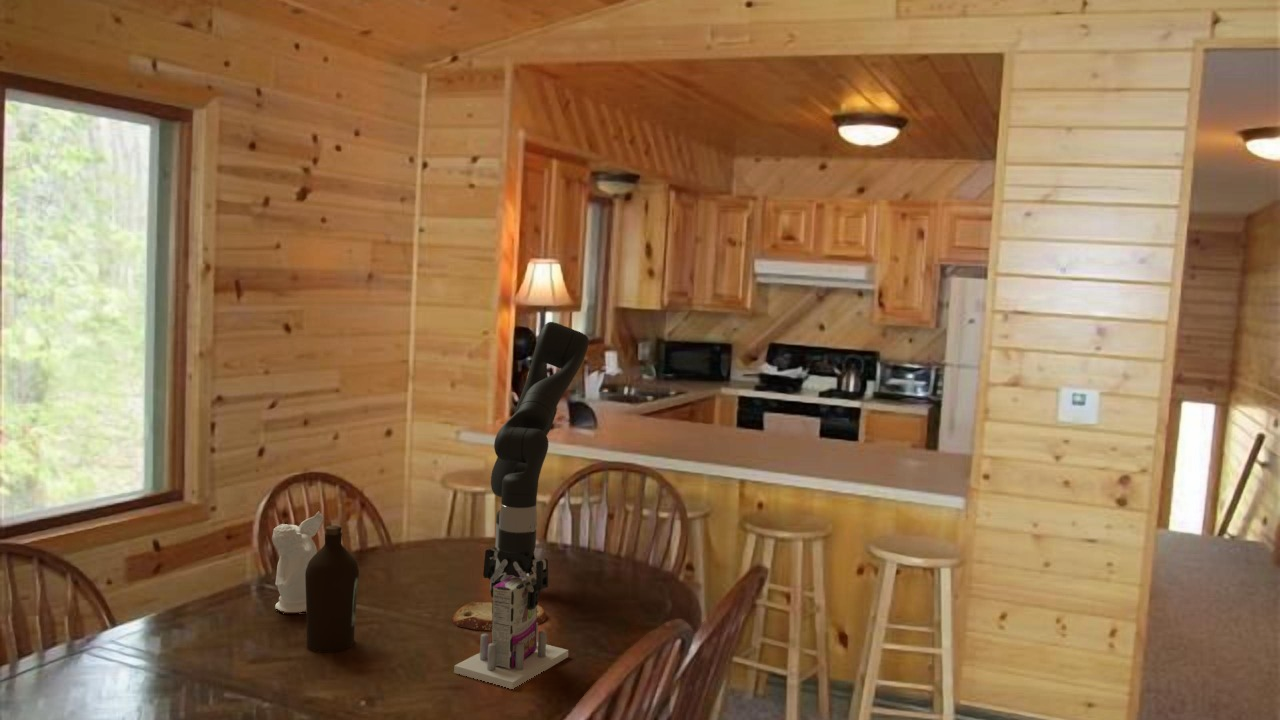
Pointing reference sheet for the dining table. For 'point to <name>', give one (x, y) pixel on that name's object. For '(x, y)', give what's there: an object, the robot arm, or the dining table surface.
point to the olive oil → (331, 595)
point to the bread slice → (482, 616)
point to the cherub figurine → (294, 561)
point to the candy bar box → (512, 621)
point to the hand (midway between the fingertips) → (514, 604)
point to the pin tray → (511, 674)
